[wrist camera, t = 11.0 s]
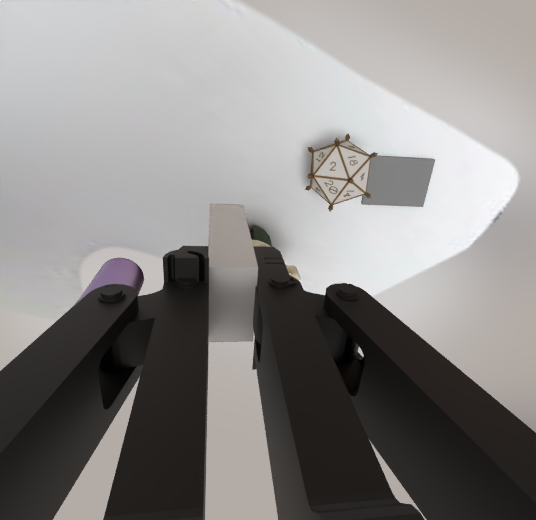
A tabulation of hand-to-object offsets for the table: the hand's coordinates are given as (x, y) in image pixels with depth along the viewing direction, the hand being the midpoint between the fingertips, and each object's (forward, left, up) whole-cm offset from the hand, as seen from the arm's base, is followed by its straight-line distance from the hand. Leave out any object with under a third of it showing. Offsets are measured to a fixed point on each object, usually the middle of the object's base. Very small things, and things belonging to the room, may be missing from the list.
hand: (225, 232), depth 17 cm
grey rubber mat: (+24, -4, -32) cm, 40 cm away
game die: (+14, -2, -32) cm, 35 cm away
